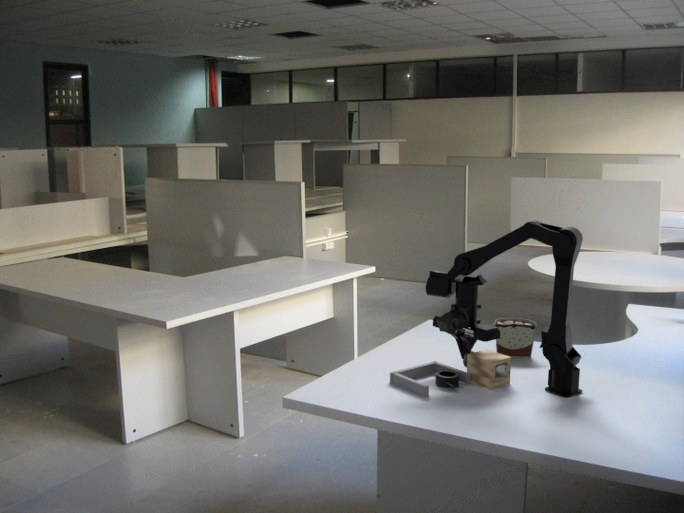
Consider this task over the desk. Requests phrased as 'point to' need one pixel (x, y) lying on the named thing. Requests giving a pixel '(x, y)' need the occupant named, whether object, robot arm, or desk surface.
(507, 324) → the food container
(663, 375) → the desk surface
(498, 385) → the bearing block
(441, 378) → the black ring with tabs
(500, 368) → the shaft
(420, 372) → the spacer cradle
